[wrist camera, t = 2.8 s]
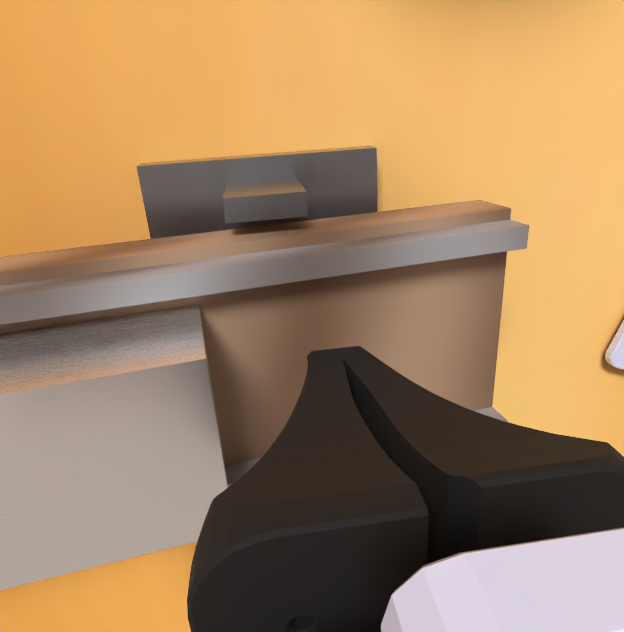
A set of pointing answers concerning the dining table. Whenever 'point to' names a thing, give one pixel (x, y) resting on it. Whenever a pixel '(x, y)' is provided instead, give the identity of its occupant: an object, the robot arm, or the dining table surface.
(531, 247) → the dining table surface
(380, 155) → the dining table surface
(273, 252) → the beam
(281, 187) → the fulcrum stand
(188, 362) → the block
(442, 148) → the dining table surface
